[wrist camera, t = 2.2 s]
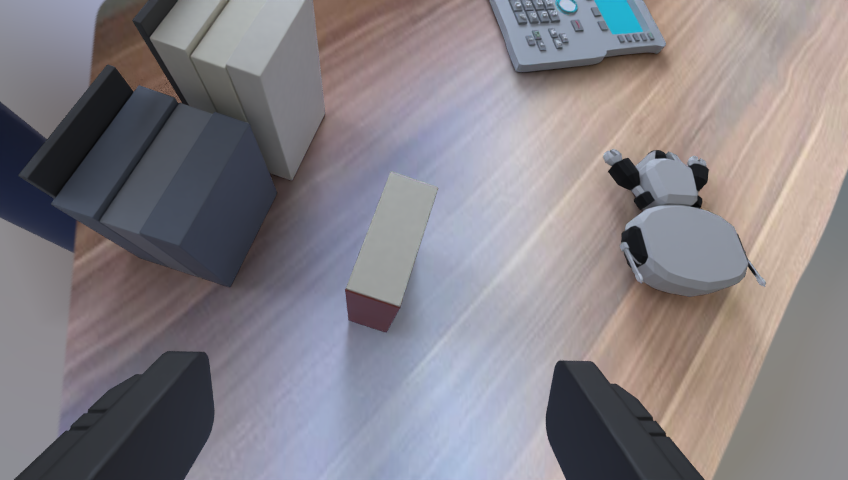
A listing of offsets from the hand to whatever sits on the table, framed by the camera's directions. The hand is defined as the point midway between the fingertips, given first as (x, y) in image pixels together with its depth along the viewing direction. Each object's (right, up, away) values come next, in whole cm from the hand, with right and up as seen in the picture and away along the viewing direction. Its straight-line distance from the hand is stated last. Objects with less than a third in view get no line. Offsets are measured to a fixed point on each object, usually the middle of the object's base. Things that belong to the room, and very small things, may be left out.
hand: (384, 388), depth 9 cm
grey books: (-17, +5, +24) cm, 30 cm away
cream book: (-2, 0, +25) cm, 25 cm away
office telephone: (+18, +34, +41) cm, 56 cm away
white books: (-13, +13, +28) cm, 34 cm away
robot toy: (+24, +5, +31) cm, 40 cm away
